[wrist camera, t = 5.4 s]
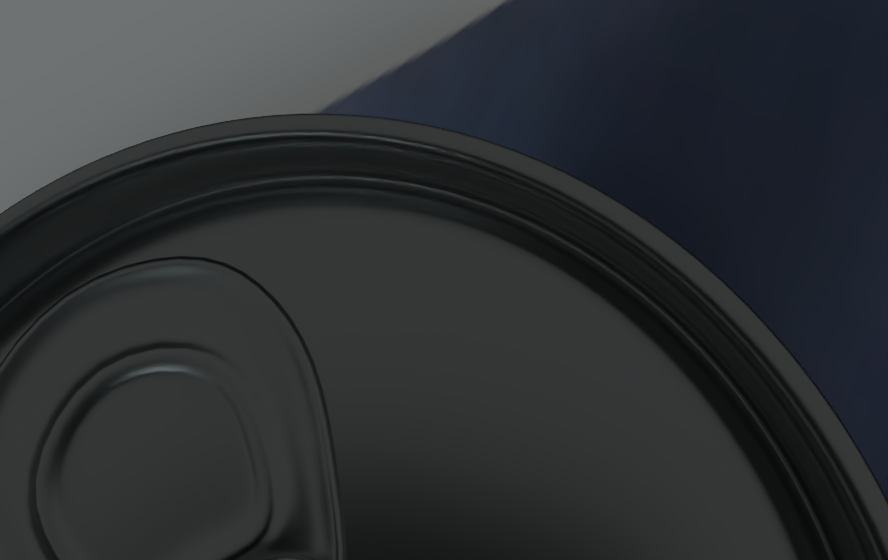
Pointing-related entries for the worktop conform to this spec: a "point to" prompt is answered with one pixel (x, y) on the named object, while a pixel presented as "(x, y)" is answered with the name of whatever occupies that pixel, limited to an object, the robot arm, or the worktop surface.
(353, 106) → the worktop surface
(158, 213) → the can
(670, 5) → the worktop surface
